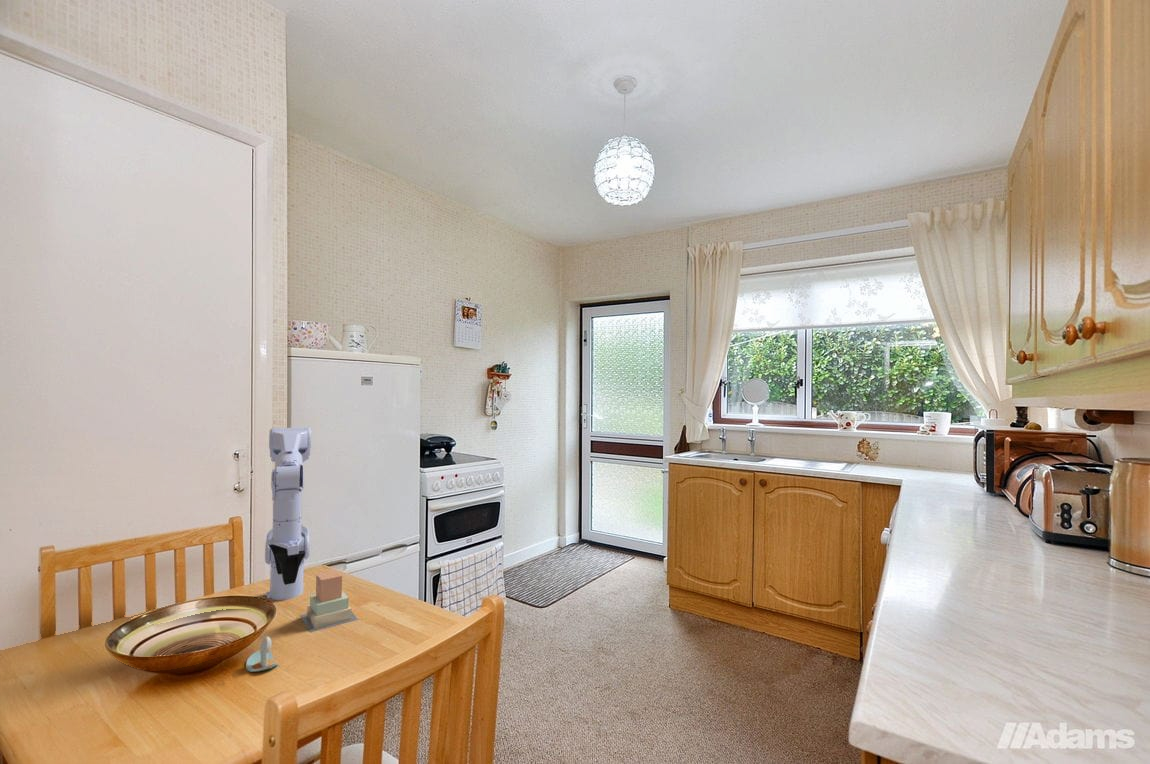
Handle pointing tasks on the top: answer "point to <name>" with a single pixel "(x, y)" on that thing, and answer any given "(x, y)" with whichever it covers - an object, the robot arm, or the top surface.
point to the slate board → (312, 629)
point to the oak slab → (328, 617)
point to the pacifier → (261, 656)
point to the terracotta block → (328, 586)
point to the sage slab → (328, 604)
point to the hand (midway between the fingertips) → (286, 578)
